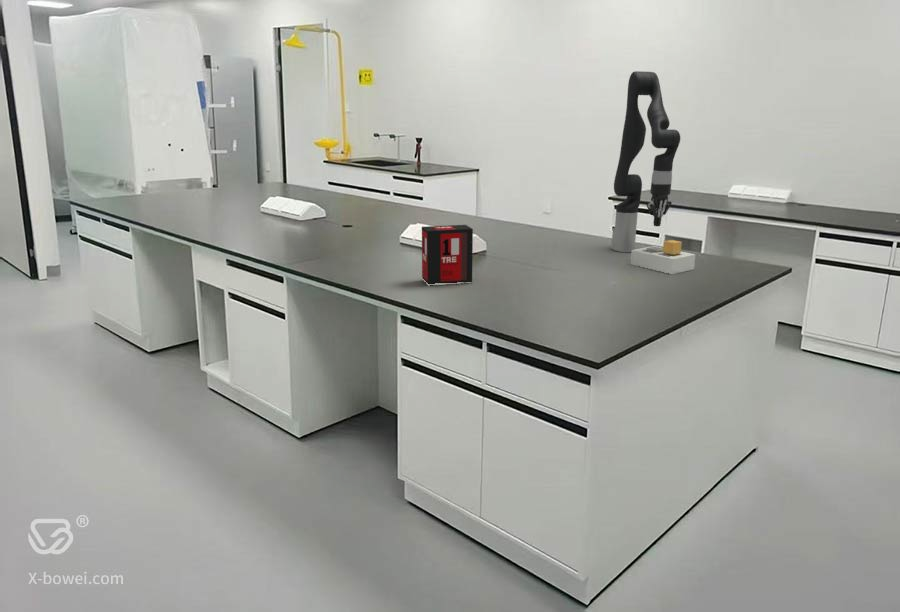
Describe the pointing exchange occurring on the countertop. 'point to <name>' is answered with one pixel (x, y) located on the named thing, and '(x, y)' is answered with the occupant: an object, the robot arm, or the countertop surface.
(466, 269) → the cleaning product box
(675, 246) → the tan cardboard-coloured cube
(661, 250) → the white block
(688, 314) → the countertop surface
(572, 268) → the countertop surface
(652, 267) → the panel
